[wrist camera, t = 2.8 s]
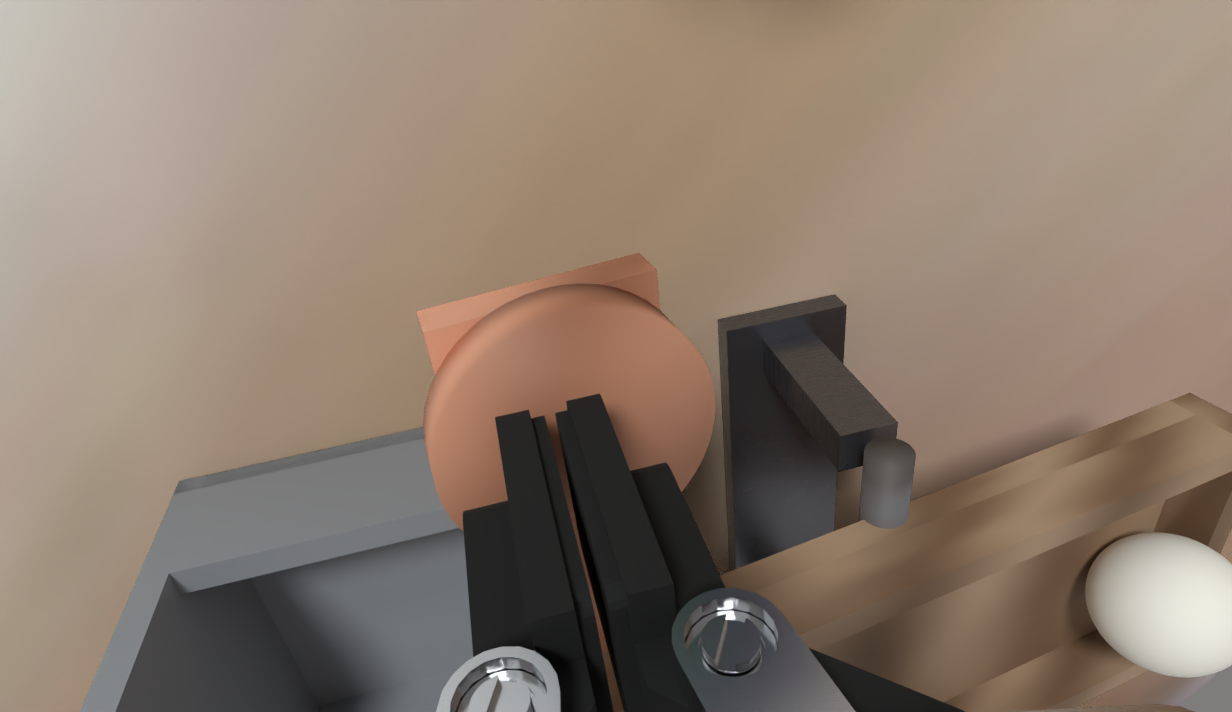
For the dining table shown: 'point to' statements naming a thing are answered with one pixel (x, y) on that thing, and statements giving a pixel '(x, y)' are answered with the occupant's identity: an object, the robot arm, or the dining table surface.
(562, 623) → the robot arm
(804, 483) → the pivot stand
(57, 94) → the dining table surface
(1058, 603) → the brown flat piece
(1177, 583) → the ball
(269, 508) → the cup
